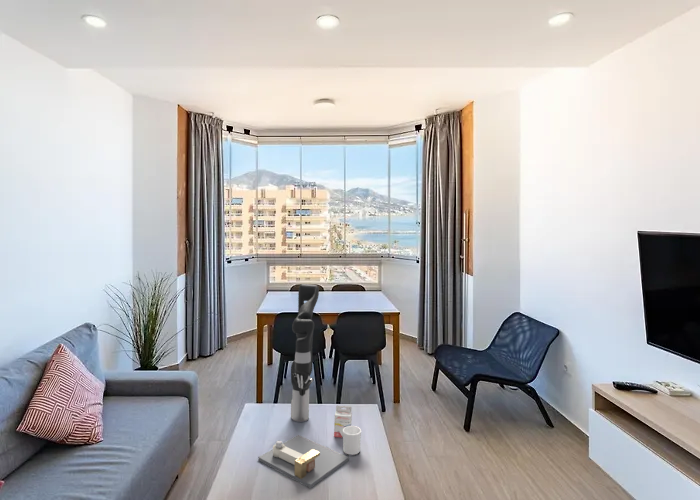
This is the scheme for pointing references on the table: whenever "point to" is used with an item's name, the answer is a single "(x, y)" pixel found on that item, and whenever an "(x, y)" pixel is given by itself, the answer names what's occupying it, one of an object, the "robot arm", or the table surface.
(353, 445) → the mug
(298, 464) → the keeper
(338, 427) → the ink cartridge box
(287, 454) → the latch bar
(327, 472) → the base plate
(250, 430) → the table surface
